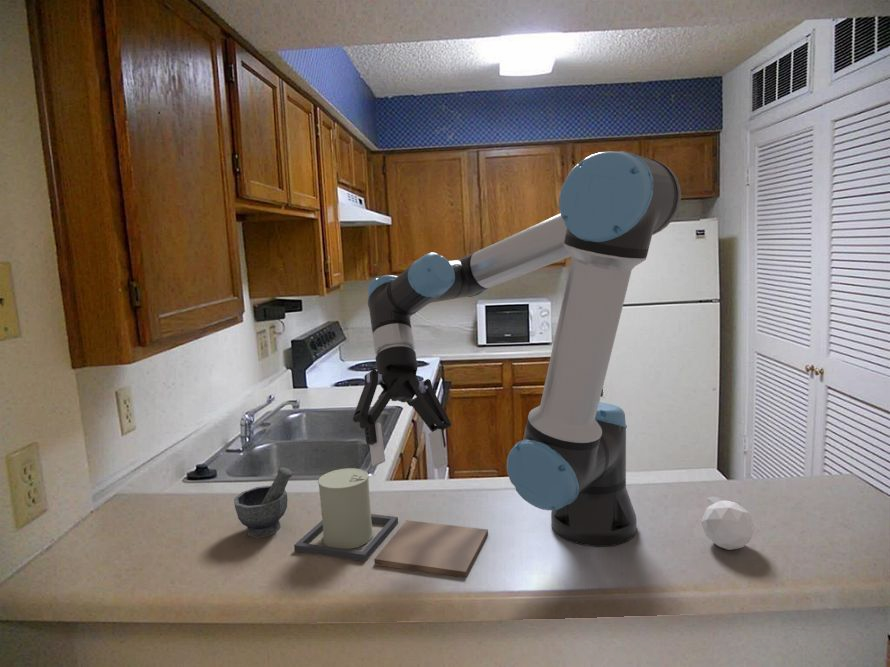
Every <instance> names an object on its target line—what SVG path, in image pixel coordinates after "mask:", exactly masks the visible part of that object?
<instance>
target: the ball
mask: <svg viewBox="0 0 890 667" xmlns="http://www.w3.org/2000/svg"><path fill="white" fill-rule="evenodd" d="M701 525H702V528H703V531H704V533H705V537H707V539H709V540H710V541H711V542H712V543H714V544H715V545H716V546H717V547H719V548H722V549H725V550H727V551H728V550H729V551H730V550H737V549H741V548H743V547H745V546H746V545H747V544H749V543H750V542H751V540H752V539H753V536H754V532H755V529H756V526H755V524H754V521H753V519H752V516H751V514H750V511H748V510H747V509H745V508H744V507H742V506H741V505H739V504H738V503H737V502H734V501H729V500H723V501H719V502H716V503H714V504H713V503H711V504H710V505H709V506H708V507H706V508H705V511H704V513H703V517H702V519H701Z"/></svg>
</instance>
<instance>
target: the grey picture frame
mask: <svg viewBox="0 0 890 667" xmlns="http://www.w3.org/2000/svg"><path fill="white" fill-rule="evenodd" d="M371 521H372V524H373V523H374V524H382V525H384V526H383V527H382V528H381V530H380V531H378V533H377V534H376V535H375V536H374V537H372V540H370V542H369V543H368V544H367V545H366V546H365V548H364V549H363V550H356V549H343V548H336V547H328V546H326V545H320V544H319V545H318V544H314V543H311V542H313V540H315V538H317V537H318V535H320V534H321V533H323V522H322V520H320V521H319V522H318V523H317V524H316V525H315V526H314V527H312V528H311V529H310V530H309V531H308V532H306V534H305V535H304V536H302V537H301V538H300V539H299V540H298V541H297V542H296V543H295V544H293V548H294V549H293V550H294V552H297V553H301V554H302V553H304V554H310V555H317V556H325V557H330V558H331V557H332V558H338V559H346V560H352V561H353V560H354V561H358V562H359V561H360V562H366V561H367V560H368V559H369V558H370V557H371V556H372V555H373V553H374V552H375V551H376V550H377V548H378V547H379V546H380V545H381V544H382V543H383V542H384V540H385V539H386V538H387V537H388V536H389V534H391V532H392V531H393V530H394V528H396V526H397V525H398V523H399V518H398V516H392V515H382V514H373V513H371Z"/></svg>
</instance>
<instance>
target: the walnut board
mask: <svg viewBox="0 0 890 667" xmlns="http://www.w3.org/2000/svg"><path fill="white" fill-rule="evenodd" d="M488 536H489V530H488V529H487V528H486V529H485V528H478V527H470V526H461V525H451V524H443V523H442V524H441V523H433V522H425V521H415V520H409V519H408V520H405V521H404V522H403V524H402V525H401V526H400V527H399V529H397V531H396V532H395V533H394V535H392V537H391V539H390V540H389V541H387V543H386V544H385V545H384V547H383V548H382V549H381V550H380V552H379V553H378V554H377V555H376V556H375V558H374V559H373V561H374V565H375V566H376V565H377V566H382V567H389V568H398V569H403V570H411V571H418V572H424V573H431V574H438V575H445V576H453V577H459V578H467V577H468V575H469V572H470V570H471V569H472V567H473V565H474V563H475V561H476V559H477V557H478V555H479V553H480V551H481V549H482V547H483V545H484V543H485V542H486V540H487V537H488Z"/></svg>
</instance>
